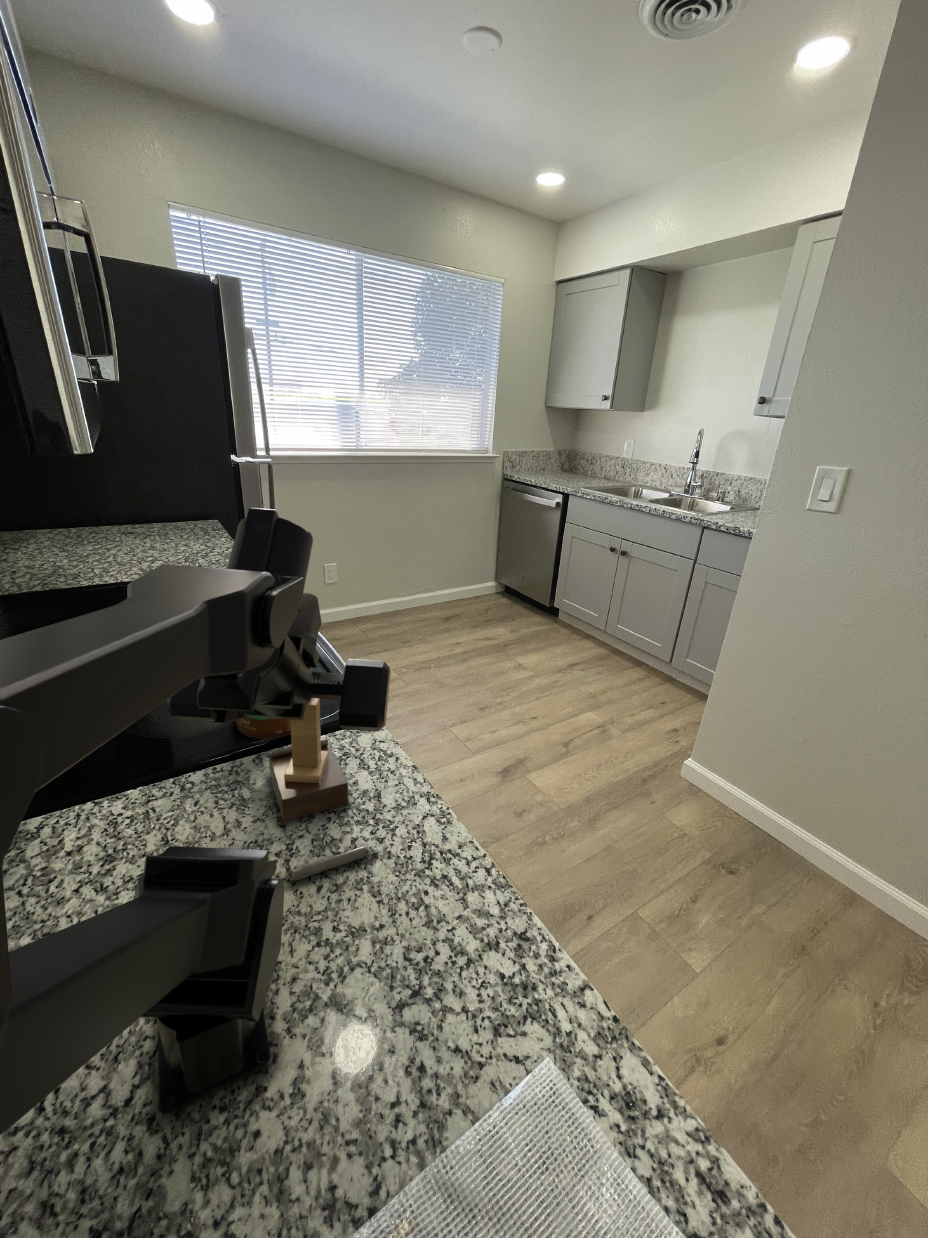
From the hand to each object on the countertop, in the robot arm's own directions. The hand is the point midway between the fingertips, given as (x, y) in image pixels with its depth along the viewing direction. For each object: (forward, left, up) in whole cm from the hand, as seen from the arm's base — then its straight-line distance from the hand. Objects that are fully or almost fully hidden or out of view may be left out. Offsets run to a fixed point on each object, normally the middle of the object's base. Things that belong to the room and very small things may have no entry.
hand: (303, 710), depth 54 cm
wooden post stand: (+1, 0, -8) cm, 8 cm away
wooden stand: (-3, 0, -11) cm, 12 cm away
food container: (+15, +3, -11) cm, 19 cm away
